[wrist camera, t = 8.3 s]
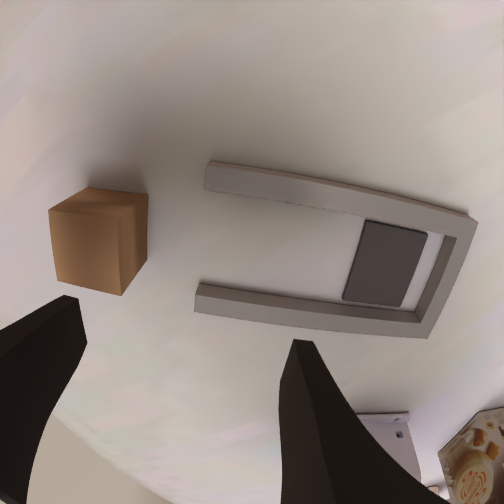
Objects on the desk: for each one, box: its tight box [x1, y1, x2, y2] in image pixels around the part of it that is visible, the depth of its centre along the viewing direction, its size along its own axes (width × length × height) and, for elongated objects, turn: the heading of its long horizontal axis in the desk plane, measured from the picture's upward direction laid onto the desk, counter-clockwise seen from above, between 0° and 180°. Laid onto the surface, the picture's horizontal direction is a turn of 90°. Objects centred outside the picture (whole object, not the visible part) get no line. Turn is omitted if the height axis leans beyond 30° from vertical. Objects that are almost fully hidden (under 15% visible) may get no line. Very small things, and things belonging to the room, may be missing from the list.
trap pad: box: [342, 220, 428, 307], centre depth 17 cm, size 4×5×1 cm
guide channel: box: [194, 161, 478, 339], centre depth 17 cm, size 15×8×1 cm, turn 82°
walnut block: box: [48, 188, 148, 296], centre depth 15 cm, size 4×4×4 cm
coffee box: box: [438, 408, 504, 504], centre depth 19 cm, size 9×6×16 cm
